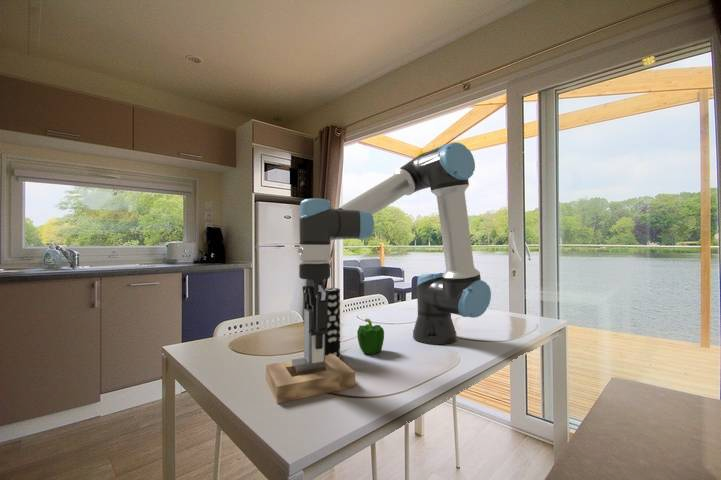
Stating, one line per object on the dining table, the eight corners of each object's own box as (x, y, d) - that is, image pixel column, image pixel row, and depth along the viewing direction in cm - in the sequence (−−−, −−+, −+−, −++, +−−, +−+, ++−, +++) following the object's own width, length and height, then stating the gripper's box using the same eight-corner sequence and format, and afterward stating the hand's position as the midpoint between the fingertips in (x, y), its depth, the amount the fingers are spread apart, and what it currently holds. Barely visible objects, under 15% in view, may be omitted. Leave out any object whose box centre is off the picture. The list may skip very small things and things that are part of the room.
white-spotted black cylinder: (335, 362, 92) (335, 291, 92) (308, 360, 94) (307, 291, 94) (343, 353, 100) (342, 288, 101) (317, 351, 102) (317, 287, 102)
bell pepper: (387, 355, 98) (386, 322, 98) (360, 357, 96) (359, 323, 97) (380, 347, 106) (380, 316, 106) (355, 348, 105) (355, 317, 105)
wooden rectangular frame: (333, 367, 88) (333, 354, 88) (355, 387, 76) (355, 371, 76) (265, 379, 81) (266, 364, 81) (277, 403, 68) (277, 386, 68)
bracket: (319, 363, 81) (319, 307, 82) (325, 368, 78) (325, 310, 78) (292, 368, 78) (292, 309, 79) (296, 373, 75) (296, 312, 75)
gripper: (291, 261, 86) (290, 350, 85) (310, 264, 70) (309, 373, 70) (318, 260, 89) (318, 347, 88) (342, 263, 73) (342, 367, 73)
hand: (314, 358), depth 79 cm, fingers closed on bracket, 4 cm apart
